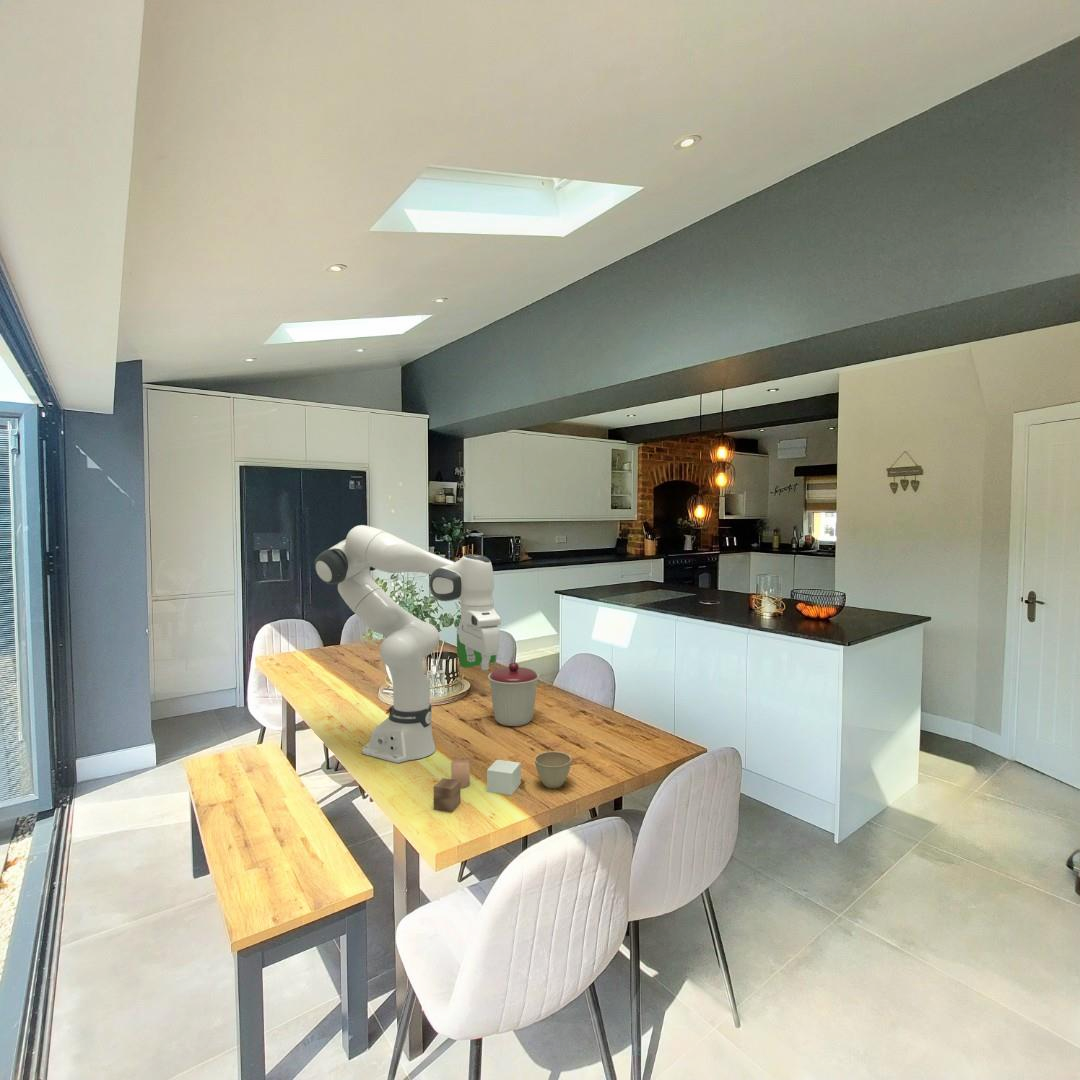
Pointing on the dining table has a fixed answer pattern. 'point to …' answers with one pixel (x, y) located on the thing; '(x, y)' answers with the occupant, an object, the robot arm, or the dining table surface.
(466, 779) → the terracotta cylinder
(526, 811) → the dining table surface
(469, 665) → the hardback book
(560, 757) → the flower pot
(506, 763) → the grey block
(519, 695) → the canister
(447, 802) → the walnut block
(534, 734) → the dining table surface
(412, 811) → the dining table surface
